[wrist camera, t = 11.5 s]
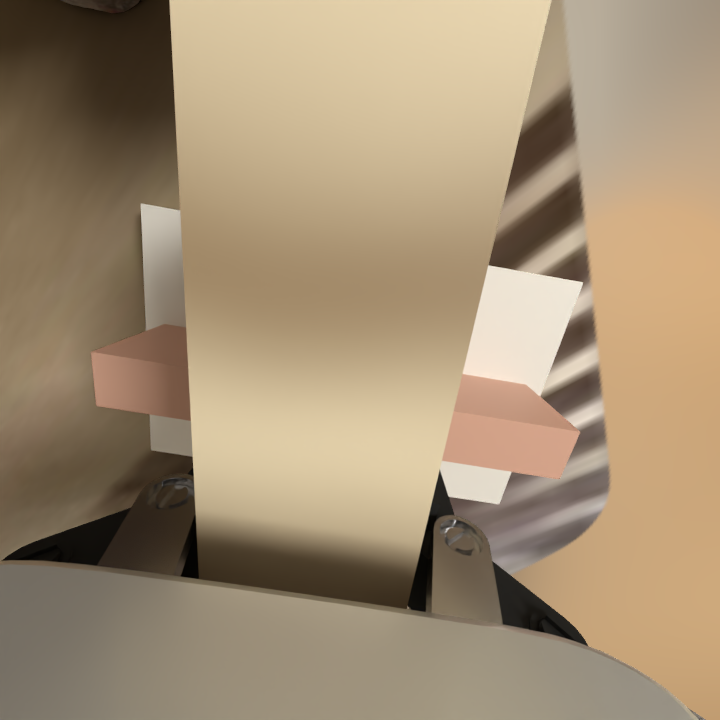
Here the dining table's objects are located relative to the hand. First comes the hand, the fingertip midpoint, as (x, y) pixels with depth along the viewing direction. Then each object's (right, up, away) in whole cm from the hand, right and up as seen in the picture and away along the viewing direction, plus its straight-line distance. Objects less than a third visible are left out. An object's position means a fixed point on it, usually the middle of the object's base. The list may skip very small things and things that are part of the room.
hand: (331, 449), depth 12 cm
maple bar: (0, +1, +1) cm, 2 cm away
